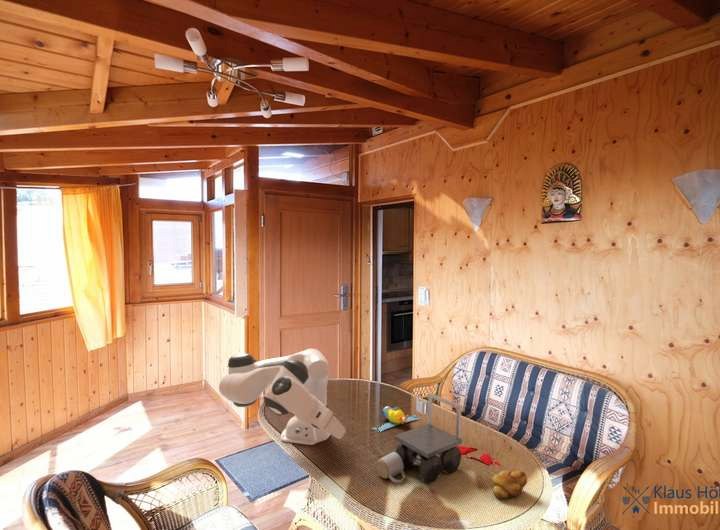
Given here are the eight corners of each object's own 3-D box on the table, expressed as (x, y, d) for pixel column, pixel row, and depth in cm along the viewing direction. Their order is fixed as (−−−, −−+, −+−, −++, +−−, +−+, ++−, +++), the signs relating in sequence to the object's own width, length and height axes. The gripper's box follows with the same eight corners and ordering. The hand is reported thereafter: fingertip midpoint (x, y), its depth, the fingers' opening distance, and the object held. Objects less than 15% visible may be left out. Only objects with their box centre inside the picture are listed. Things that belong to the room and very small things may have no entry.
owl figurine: (381, 418, 190) (362, 408, 203) (382, 436, 191) (363, 426, 203) (426, 405, 206) (406, 396, 219) (426, 422, 206) (406, 412, 219)
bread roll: (503, 505, 139) (503, 482, 139) (482, 490, 148) (482, 468, 147) (529, 495, 145) (530, 472, 145) (508, 481, 154) (508, 460, 153)
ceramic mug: (374, 474, 158) (375, 455, 158) (390, 467, 163) (390, 448, 163) (394, 487, 150) (394, 467, 149) (409, 479, 155) (410, 459, 155)
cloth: (510, 464, 167) (510, 458, 167) (488, 475, 159) (489, 469, 159) (460, 439, 188) (460, 435, 188) (439, 448, 180) (439, 443, 180)
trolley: (425, 489, 148) (426, 418, 147) (392, 467, 163) (392, 403, 162) (463, 470, 161) (464, 405, 160) (429, 452, 175) (430, 392, 174)
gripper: (290, 410, 144) (314, 431, 151) (322, 429, 128) (347, 451, 135) (301, 395, 147) (324, 416, 153) (333, 412, 131) (358, 434, 137)
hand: (335, 433), depth 144 cm, fingers closed
